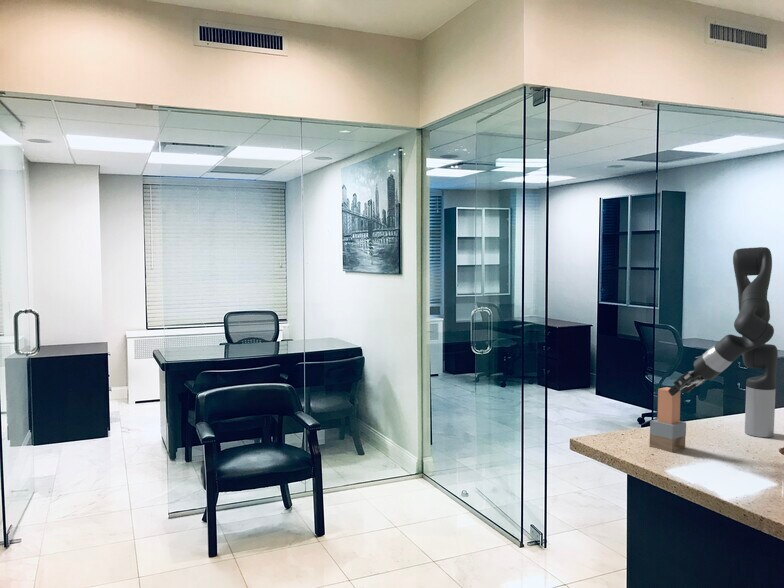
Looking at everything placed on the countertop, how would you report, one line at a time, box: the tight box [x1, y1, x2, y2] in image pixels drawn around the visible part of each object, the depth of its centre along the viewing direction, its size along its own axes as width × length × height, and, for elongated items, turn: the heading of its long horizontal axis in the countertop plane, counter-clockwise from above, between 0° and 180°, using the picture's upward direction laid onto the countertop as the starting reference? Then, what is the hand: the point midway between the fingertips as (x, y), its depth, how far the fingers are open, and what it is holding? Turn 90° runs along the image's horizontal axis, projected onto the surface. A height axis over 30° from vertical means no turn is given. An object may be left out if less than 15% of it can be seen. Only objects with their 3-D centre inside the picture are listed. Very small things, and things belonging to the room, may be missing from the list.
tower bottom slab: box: [649, 433, 686, 453], centre depth 210 cm, size 8×8×4 cm
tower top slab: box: [649, 418, 687, 439], centre depth 210 cm, size 8×8×4 cm
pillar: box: [656, 386, 682, 424], centre depth 209 cm, size 5×5×11 cm
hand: (677, 392), depth 206 cm, fingers open, 8 cm apart
